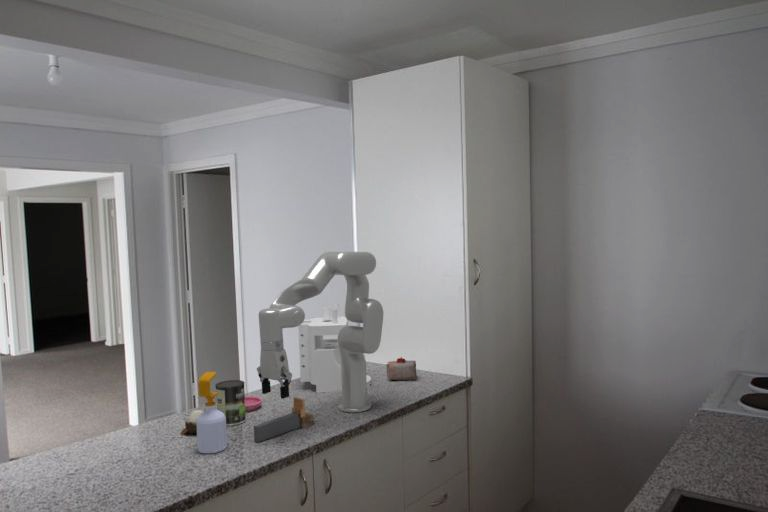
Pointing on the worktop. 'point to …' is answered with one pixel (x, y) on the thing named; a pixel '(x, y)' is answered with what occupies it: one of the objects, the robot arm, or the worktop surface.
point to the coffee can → (231, 401)
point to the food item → (401, 370)
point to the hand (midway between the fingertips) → (275, 395)
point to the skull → (191, 423)
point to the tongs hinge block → (307, 420)
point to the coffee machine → (322, 351)
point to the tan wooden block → (299, 406)
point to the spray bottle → (210, 420)
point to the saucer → (252, 403)
